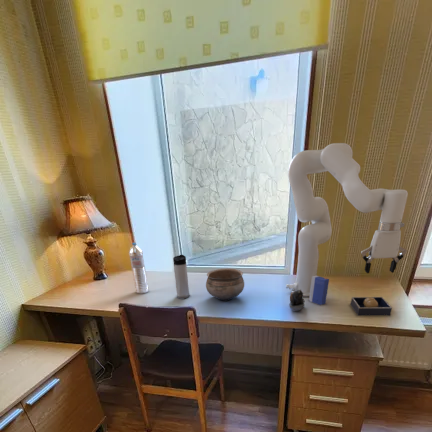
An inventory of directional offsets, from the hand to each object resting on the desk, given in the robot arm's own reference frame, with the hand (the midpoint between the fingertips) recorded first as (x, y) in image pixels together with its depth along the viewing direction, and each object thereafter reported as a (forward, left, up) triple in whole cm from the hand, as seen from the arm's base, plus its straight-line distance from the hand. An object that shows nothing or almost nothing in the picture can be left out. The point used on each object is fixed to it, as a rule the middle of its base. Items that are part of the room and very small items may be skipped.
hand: (379, 272), depth 136 cm
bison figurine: (-35, +29, +10) cm, 47 cm away
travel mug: (-87, +20, -17) cm, 91 cm away
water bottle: (-111, +28, -17) cm, 116 cm away
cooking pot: (-65, +17, -17) cm, 70 cm away
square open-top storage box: (0, 0, -17) cm, 17 cm away
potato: (0, 0, -16) cm, 16 cm away
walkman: (-21, +10, -17) cm, 29 cm away
